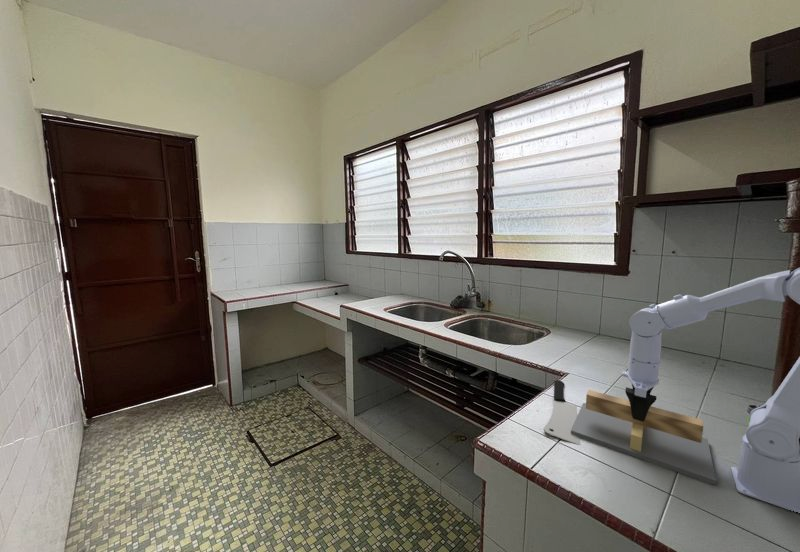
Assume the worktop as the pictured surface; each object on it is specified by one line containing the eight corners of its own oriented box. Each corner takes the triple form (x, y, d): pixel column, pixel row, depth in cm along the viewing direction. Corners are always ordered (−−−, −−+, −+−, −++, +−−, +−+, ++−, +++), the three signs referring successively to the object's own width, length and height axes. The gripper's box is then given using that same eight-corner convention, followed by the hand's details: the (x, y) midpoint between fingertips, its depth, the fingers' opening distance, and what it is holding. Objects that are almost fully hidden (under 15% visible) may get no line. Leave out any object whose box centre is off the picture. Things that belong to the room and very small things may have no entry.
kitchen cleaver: (589, 445, 74) (543, 429, 79) (588, 451, 74) (542, 435, 79) (584, 387, 101) (550, 377, 106) (583, 391, 102) (549, 382, 106)
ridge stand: (707, 442, 75) (709, 425, 74) (715, 485, 63) (718, 464, 62) (583, 405, 91) (583, 391, 91) (570, 433, 79) (571, 417, 78)
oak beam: (700, 436, 70) (702, 419, 70) (701, 443, 68) (703, 426, 68) (587, 403, 84) (588, 389, 84) (585, 408, 82) (586, 394, 82)
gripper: (626, 346, 82) (622, 394, 84) (620, 365, 71) (615, 420, 73) (661, 352, 78) (656, 403, 79) (660, 373, 67) (654, 432, 68)
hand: (639, 412), depth 76 cm, fingers open, 7 cm apart
